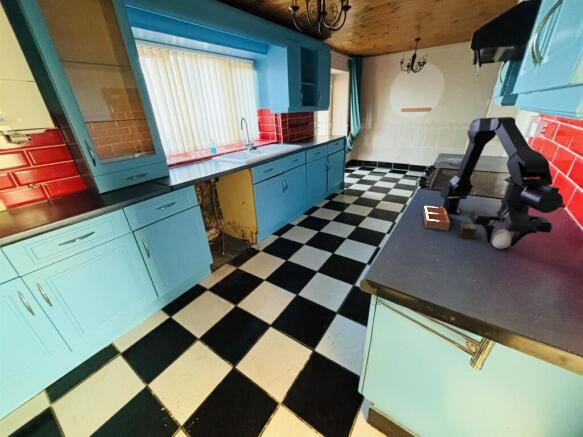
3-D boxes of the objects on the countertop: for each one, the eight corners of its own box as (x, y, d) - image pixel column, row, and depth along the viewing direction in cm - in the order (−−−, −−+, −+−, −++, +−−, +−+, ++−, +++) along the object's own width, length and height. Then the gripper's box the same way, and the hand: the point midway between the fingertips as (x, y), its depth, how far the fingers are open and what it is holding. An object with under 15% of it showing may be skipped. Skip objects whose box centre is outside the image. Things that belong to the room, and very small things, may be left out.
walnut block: (458, 232, 89) (460, 223, 87) (470, 234, 87) (473, 224, 86) (460, 237, 85) (462, 227, 84) (473, 239, 84) (476, 229, 82)
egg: (505, 245, 79) (512, 228, 76) (509, 253, 75) (517, 234, 73) (487, 243, 81) (493, 225, 78) (490, 250, 77) (497, 232, 75)
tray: (425, 227, 93) (427, 219, 92) (423, 213, 106) (424, 206, 104) (448, 230, 90) (450, 222, 89) (443, 215, 103) (445, 207, 101)
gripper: (485, 206, 68) (470, 251, 75) (574, 213, 61) (549, 263, 67) (476, 193, 77) (463, 235, 84) (552, 199, 70) (532, 244, 77)
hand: (499, 244), depth 78 cm, fingers open, 6 cm apart
